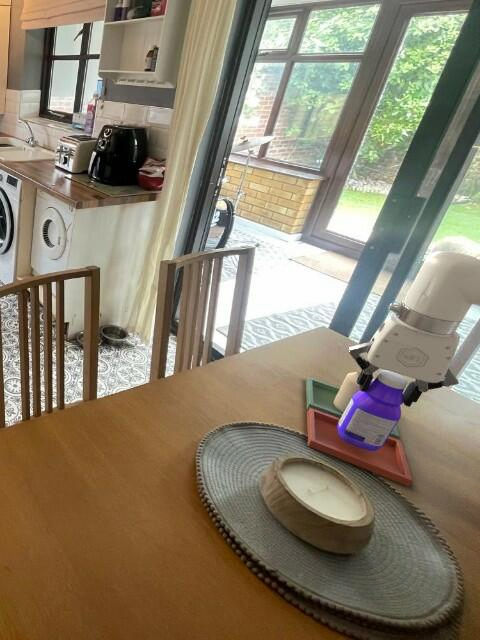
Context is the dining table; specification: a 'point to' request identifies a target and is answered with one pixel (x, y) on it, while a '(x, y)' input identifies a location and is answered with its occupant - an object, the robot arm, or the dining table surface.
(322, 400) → the tray sage
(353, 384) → the candle
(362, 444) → the bottle
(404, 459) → the tray terracotta
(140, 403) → the dining table surface
